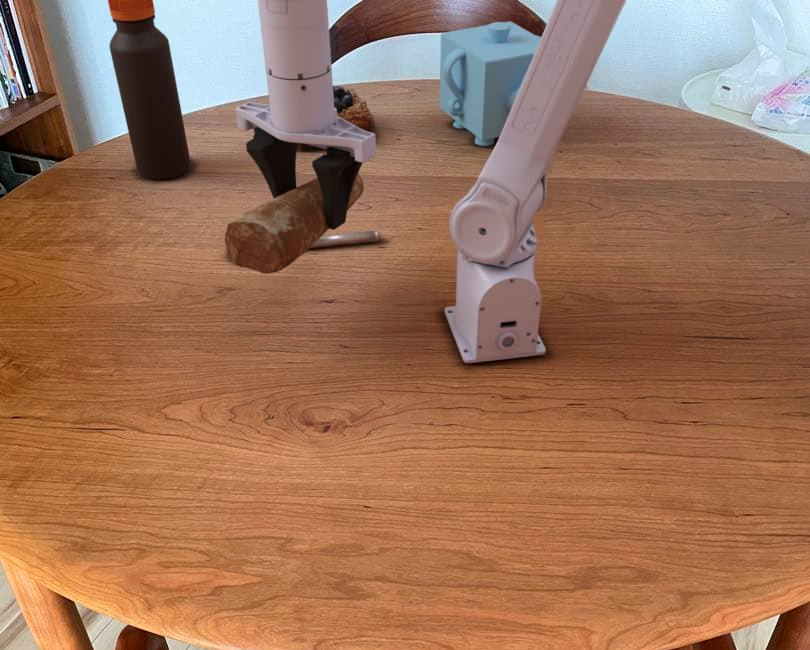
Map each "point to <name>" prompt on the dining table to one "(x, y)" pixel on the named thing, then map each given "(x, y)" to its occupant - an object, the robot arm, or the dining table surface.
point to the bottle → (148, 91)
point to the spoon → (347, 239)
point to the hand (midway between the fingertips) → (312, 217)
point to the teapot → (484, 75)
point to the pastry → (347, 113)
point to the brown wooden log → (281, 228)
